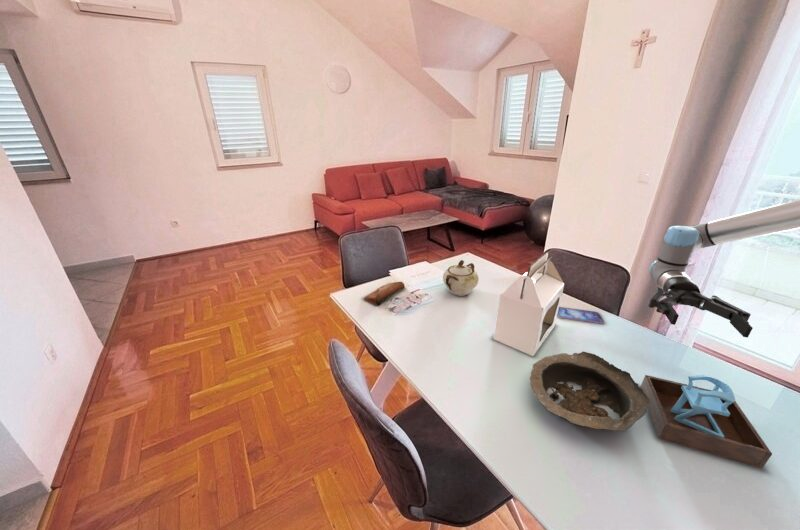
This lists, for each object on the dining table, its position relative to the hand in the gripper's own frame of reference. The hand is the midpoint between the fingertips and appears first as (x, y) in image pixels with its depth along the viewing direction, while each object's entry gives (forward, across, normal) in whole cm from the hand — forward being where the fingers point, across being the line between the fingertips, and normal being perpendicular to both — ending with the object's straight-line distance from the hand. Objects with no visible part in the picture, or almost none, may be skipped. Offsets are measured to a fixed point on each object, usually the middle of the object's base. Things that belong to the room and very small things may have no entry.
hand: (710, 326), depth 74 cm
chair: (+10, 0, -21) cm, 23 cm away
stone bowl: (+15, +25, -22) cm, 36 cm away
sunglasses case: (-19, +96, -21) cm, 100 cm away
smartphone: (-32, +21, -22) cm, 44 cm away
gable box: (-13, +39, -22) cm, 47 cm away
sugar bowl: (-34, +67, -22) cm, 78 cm away
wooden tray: (+10, 0, -22) cm, 24 cm away
